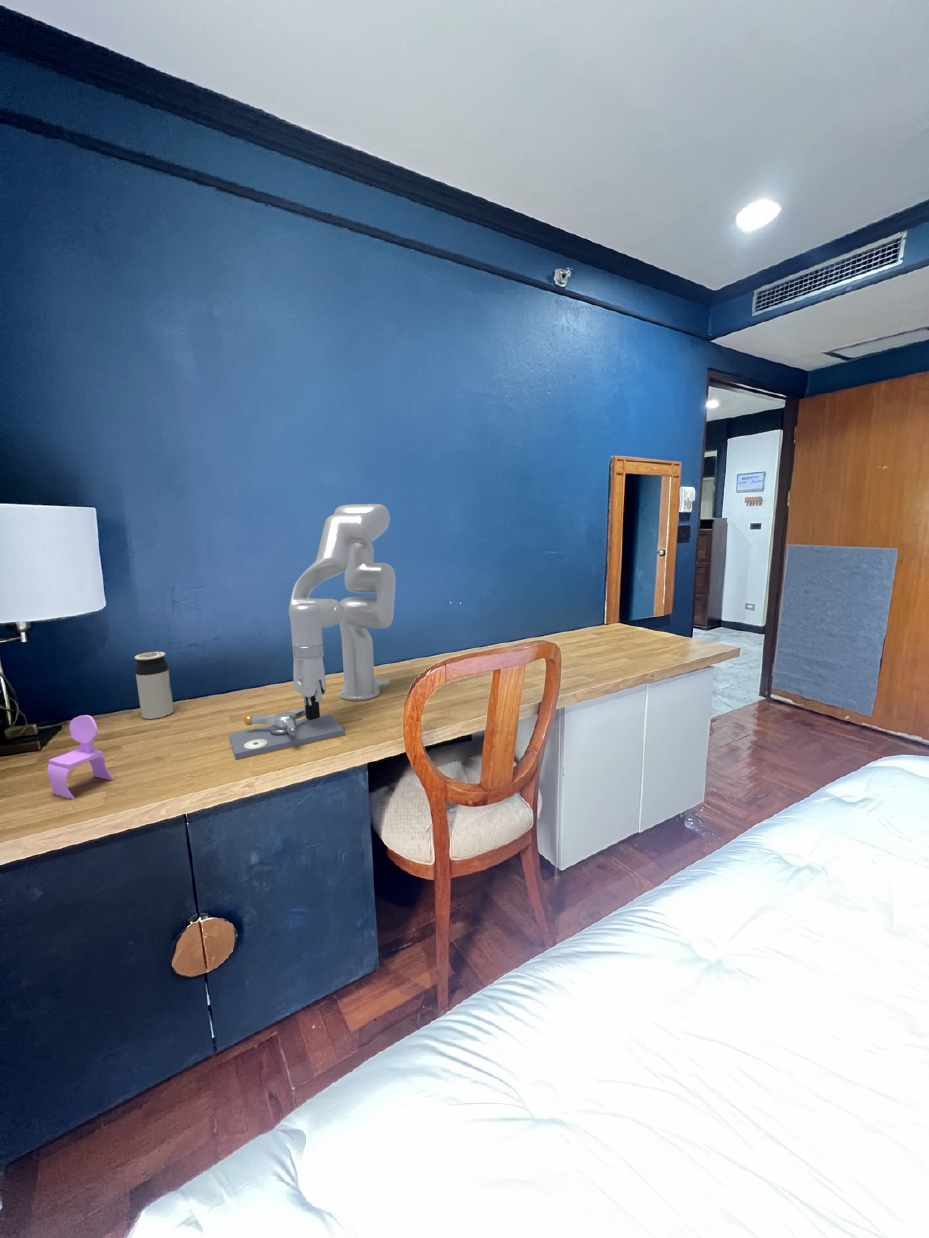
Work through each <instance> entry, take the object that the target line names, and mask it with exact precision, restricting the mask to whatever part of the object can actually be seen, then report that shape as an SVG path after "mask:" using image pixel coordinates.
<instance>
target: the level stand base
mask: <svg viewBox="0 0 929 1238" xmlns="http://www.w3.org/2000/svg"><path fill="white" fill-rule="evenodd" d="M271 726H272V725H268V726H263V727H258V728H253V729H249V730H244V731H240V732H234V733H233V732H232V733H229V734H228V737H229V739H228V740H229V743H230V746H231V750H232V753H233V755H234V756H233V757H234V759H235V760H240V759H245V758H250V757H254V756H258V755H259V756H260V755H263V754H264V755H265V754H268V753H273V752H276V751H281V750H285V749H290V748H294V747H298V746H302V745H303V746H304V745H308V744H312V743H316V742H319V741H321V742H322V741H325V740H329V739H333V738H339V737H342V736H345V729H344V727H342V725H341V724H340V722H338V721H337V720H336V719H335V717H334V716H333V715H332V714H331V713H328V714H324V715H320V717H319V718H317V719H313V720H308V719H306V718H303V719H296V729H297V734H296V735H294V736H291V735H289V733H287V734H282V735H275V734H271V733H270V727H271Z"/></svg>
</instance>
